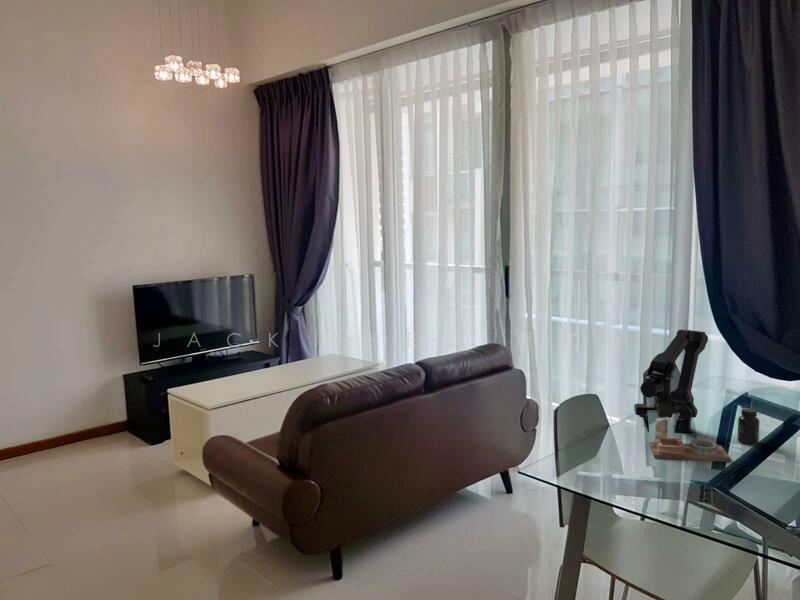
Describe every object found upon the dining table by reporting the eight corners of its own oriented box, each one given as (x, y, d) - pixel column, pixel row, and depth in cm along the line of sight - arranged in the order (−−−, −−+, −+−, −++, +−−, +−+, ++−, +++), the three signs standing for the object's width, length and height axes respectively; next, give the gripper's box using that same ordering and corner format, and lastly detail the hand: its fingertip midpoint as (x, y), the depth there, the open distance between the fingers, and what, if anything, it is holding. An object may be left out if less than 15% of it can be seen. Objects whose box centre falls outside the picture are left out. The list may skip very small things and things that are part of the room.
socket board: (648, 445, 225) (649, 435, 224) (720, 448, 219) (721, 438, 218) (654, 458, 213) (654, 447, 212) (730, 461, 207) (730, 451, 207)
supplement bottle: (761, 445, 220) (763, 413, 218) (740, 445, 221) (742, 412, 220) (754, 438, 227) (756, 407, 225) (734, 438, 228) (735, 406, 226)
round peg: (654, 438, 231) (654, 418, 229) (665, 439, 230) (666, 418, 229) (656, 442, 227) (656, 421, 226) (667, 443, 226) (668, 422, 225)
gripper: (638, 397, 220) (637, 439, 222) (694, 398, 216) (693, 441, 218) (634, 388, 231) (633, 428, 233) (687, 389, 226) (686, 430, 229)
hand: (661, 432), depth 228 cm, fingers open, 9 cm apart
